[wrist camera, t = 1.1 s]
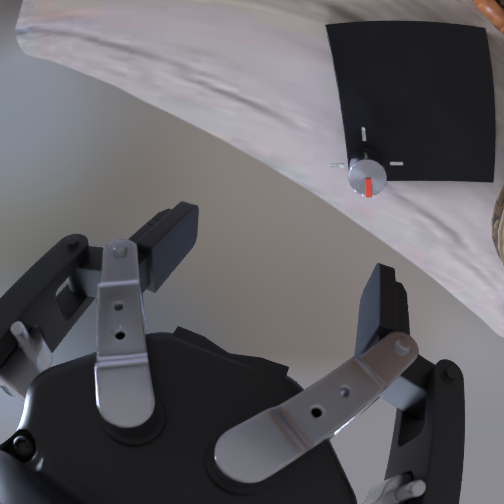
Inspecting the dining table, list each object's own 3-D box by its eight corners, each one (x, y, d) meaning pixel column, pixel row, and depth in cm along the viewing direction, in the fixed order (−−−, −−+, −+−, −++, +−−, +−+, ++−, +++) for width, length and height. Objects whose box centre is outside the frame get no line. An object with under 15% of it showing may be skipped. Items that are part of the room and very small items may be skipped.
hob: (309, 30, 26) (305, 26, 24) (477, 30, 19) (486, 27, 17) (336, 190, 35) (334, 199, 33) (485, 190, 28) (492, 199, 26)
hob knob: (348, 148, 30) (346, 161, 26) (382, 146, 28) (386, 159, 24) (351, 180, 31) (350, 198, 28) (384, 179, 30) (387, 197, 26)
